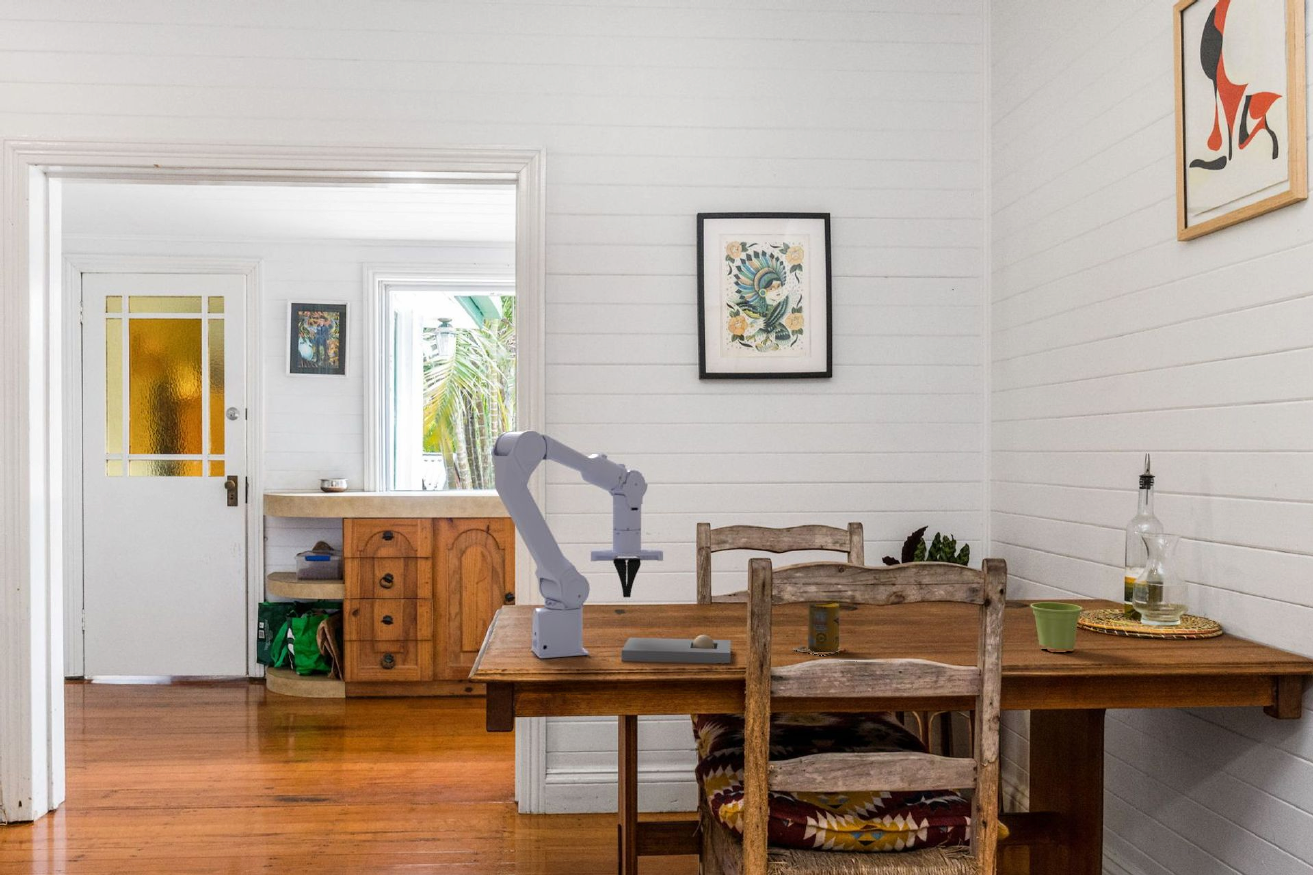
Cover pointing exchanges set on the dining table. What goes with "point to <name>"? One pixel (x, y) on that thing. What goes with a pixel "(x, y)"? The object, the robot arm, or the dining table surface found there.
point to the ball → (703, 642)
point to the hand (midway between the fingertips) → (626, 596)
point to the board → (675, 651)
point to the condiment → (822, 628)
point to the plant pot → (1056, 624)
